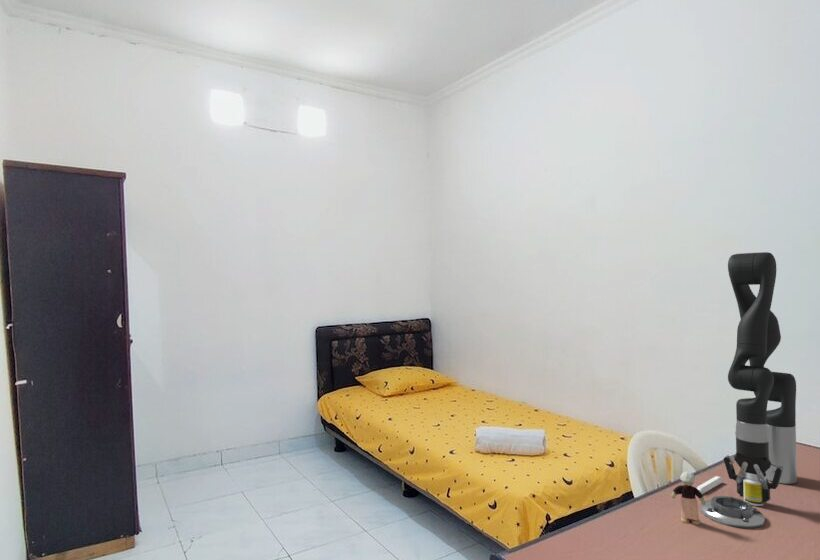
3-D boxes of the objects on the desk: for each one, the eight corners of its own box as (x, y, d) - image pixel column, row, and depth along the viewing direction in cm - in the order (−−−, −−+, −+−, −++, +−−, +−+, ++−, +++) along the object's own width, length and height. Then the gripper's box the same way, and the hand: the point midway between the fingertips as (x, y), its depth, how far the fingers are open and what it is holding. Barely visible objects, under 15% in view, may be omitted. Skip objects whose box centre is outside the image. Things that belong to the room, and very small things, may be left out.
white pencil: (695, 499, 142) (717, 484, 152) (701, 497, 141) (724, 483, 151) (690, 490, 143) (712, 476, 153) (696, 488, 142) (719, 474, 152)
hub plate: (710, 499, 140) (710, 488, 140) (770, 515, 129) (770, 503, 129) (693, 515, 130) (693, 503, 130) (757, 534, 120) (756, 521, 120)
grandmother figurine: (703, 519, 128) (702, 470, 128) (707, 526, 124) (706, 476, 124) (670, 515, 130) (669, 467, 130) (673, 522, 126) (672, 472, 127)
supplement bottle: (767, 507, 134) (766, 476, 134) (748, 505, 135) (747, 475, 135) (758, 499, 139) (758, 469, 139) (740, 498, 140) (739, 468, 140)
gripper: (786, 440, 135) (788, 502, 135) (726, 429, 145) (727, 487, 145) (780, 446, 130) (782, 511, 129) (718, 434, 140) (720, 495, 140)
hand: (753, 498), depth 137 cm, fingers closed on supplement bottle, 4 cm apart
